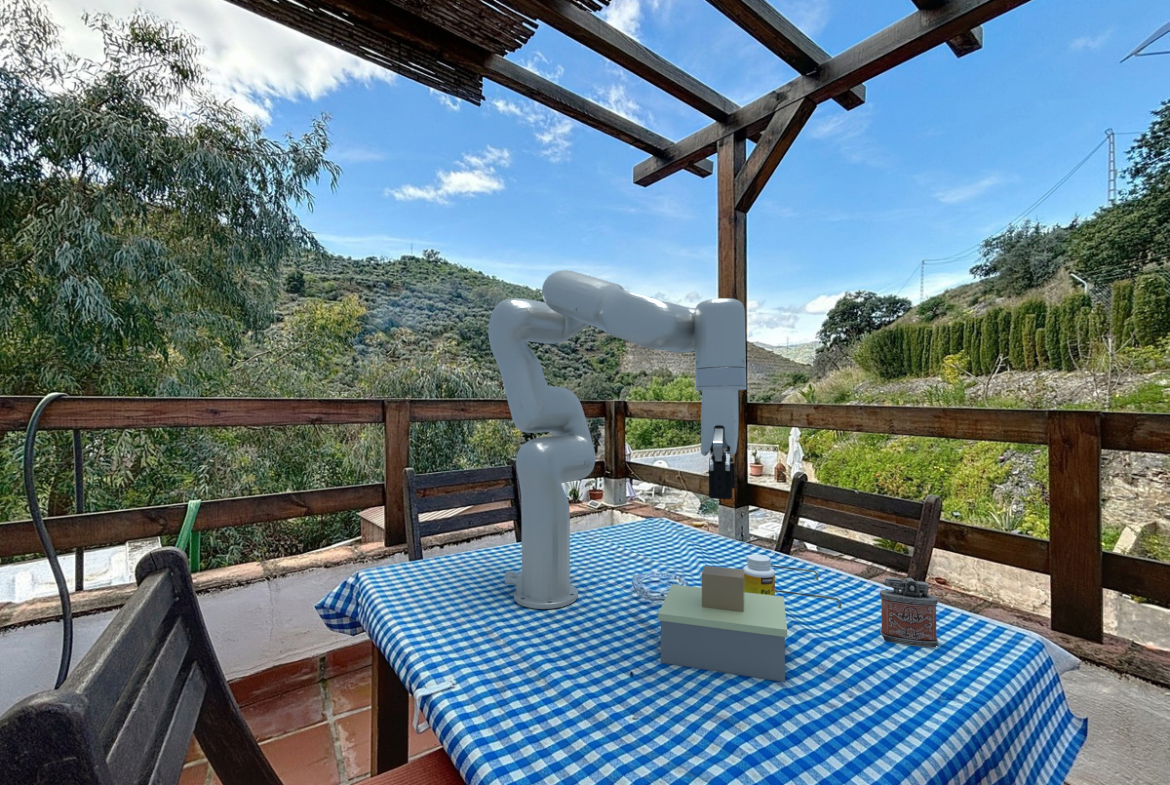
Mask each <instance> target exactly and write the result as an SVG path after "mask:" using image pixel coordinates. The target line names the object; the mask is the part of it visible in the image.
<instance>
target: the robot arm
mask: <svg viewBox="0 0 1170 785" xmlns="http://www.w3.org/2000/svg"><path fill="white" fill-rule="evenodd" d="M541 289H542V290H541V294H542V298H543V301H544V302H543V301H538V300H533V299H529V298H520V297H519V298H518V297H514V298H507V299H504V300H502V301H500V302H499V303H497V305H496V306H495V307H494V308H493V310H492V312H491V315H490V317H489V322H488V332H487V333H488V342H489V345H490V349H491V352H492V355H493V357H494V360H495V362H496V365H497V366H498V369H499V371H500V376H501V378H502V384H503V388H504V392H505V396H506V400H507V403H508V407H509V411H510V414H511V418H512V421H513V423H514V426H515V427H516V429H517V430H519V431H520V432H522V433H527V434H531V433H532V434H536V433H551V435H552V436H541V437H537V438H535V437H534V438H533V439H530V440H528V441H526V442H525V443H523V445H522V446H520V448H519V449H518V452H517V455H516V460H515V465H516V472H517V479H518V482H519V489H520V498H521V499H520V500H521V501H520V502H521V571H520V572H516V571H512V570H511V571H510V570H507V571H505V574H504V584H505V585H509V586H510V585H513V586H515V587H516V589H515V590H514V592H513V600H514V601H515V602H516V603H517V604H518V605H520V606H522V607H525V608H529V609H536V610H551V609H558V608H562V607H566V606H568V605H569V606H570V605H571V604H572V603H574V602H575V601H576V600H577V599H578V597H579V591H578V589H577V587H576V586H574V585H573V584H571V547H570V546H571V543H570V542H571V530H570V528H571V527H570V526H571V523H570V522H571V514H570V510H571V509H570V502H569V499H568V497H567V494H566V491H565V489H564V487H563V484H564V483H568V482H569V483H570V482H574V481H579V480H582V479H584V478H587V477H588V476H590V474H592V472H593V470H594V467H595V464H596V452H595V446H594V443H593V439H592V436H591V432H590V430H589V426H588V422H587V418H586V415H585V413H584V412H585V411H584V409H583V407H582V406H583V405H582V404H581V401H580V399H579V397H578V396H577V395H576V394H575V393H574V392H573V391H572V390H571V389H569V388H566V387H562V386H550V385H548V383H547V381H546V378H545V374H544V372H543V367H542V364H541V362H540V360H539V359H538V356H537V355H536V354H535V353H534V351H533V350H532V349H531V347H530V346H529V344H528V342H532V343H540V344H541V343H542V344H550V345H553V344H554V345H555V344H559V343H560V344H561V343H563V342H565V341H567V340H568V339H570V338H571V337H573V336H574V335H576V334H578V333H579V332H581V331H582V330H584V329H586V328H587V327H589V326H592V327H594V328H598V329H600V330H601V331H603V332H604V333H607V334H609V335H610V336H613V337H616V338H619V339H621V340H624V341H627V342H630V343H632V344H634V345H637V346H640V347H643V348H647V349H650V350H651V349H652V350H659V351H660V350H661V351H667V352H668V351H669V352H674V353H681V354H682V353H684V354H685V353H691V352H694V356H695V357H694V360H695V362H694V366H695V368H694V369H695V391H697V392H699V391H700V392H701V391H702V394H701V407H700V408H701V410H700V412H701V414H700V416H701V417H700V418H701V421H700V422H701V423H700V424H701V426H700V432H701V433H700V435H701V436H700V454H701V455H702V456H704V457H706V456H708V455H709V454H710V455H709V470H708V496H709V499H714V500H717V499H718V500H732V498H733V489H735V488H736V466H735V465H736V462H734V455H735V454H737V450H738V449H737V448H738V439H739V391H745V390H746V391H747V362H746V360H747V358H746V356H747V353H746V352H747V351H746V349H747V348H746V312H745V311H746V309H745V306H744V304H743V302H741V301H740V300H739V299H736V298H729V297H728V298H727V297H726V298H724V297H723V298H712V299H706V300H703V301H701V302H698V304H697V305H696V306H695V307H689V306H684V305H682V304H681V305H680V304H676V303H673V302H668V301H664V300H660V299H658V298H657V299H656V298H653V297H649V296H646V295H642V294H639V293H635V292H632V291H629V290H625V288H624V287H623V286H622V285H620V284H619V283H617V282H611V281H608V280H604V279H600V278H597V277H595V276H591V275H587V274H584V273H580V272H577V271H573V270H568V269H566V270H565V269H564V270H563V269H562V270H557V271H554V272H552V273H551V274H550V275H548V276H547V277H546V278H545V280H544V282H543V284H542V288H541Z"/></svg>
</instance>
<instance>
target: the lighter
mask: <svg viewBox="0 0 1170 785" xmlns="http://www.w3.org/2000/svg"><path fill="white" fill-rule="evenodd" d="M884 586H885V587H888V588H893V589H881V590H880V591H879V596H880V598H881V600H880V601H881V602H880V603H881V607H880V608H881V612H880V613H881V629H880V632H879V633H880V634H881V636H882V638H883V640H884V641H885V642H888V643H893V644H898V645H904V646H910V647H912V646H913V647H921V648H933V647H934V648H937V647H938V646H939V643H938V642H939V640H938V638H937V604H938V603H939V602H938V597H937V596H935V595H933V594H928V593H929V586H930V585H929V582H926V581H918V580H917V581H916V580H914V579H913V578H912V577H906V578H905V579H902V578H898V577H888V576H887V577H886V578H884ZM900 589H901V590H900ZM920 591H921V592H920ZM936 646H937V647H936Z"/></svg>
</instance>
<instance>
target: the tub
mask: <svg viewBox="0 0 1170 785" xmlns="http://www.w3.org/2000/svg"><path fill="white" fill-rule="evenodd" d="M660 663H661V664H667V665H674V666H679V667H686V668H692V669H699V670H705V671H711V672H712V671H713V672H716V673H724V674H731V675H736V676H737V675H739V676H742V677H743V676H744V677H748V678H750V677H751V678H756V679H761V680H762V679H764V680H770V681H775V682H782V683H786V637H781V636H774V635H766V634H758V633H751V632H743V631H736V630H728V629H720V628H713V627H705V626H698V625H690V624H682V623H675V622H667V621H660Z"/></svg>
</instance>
